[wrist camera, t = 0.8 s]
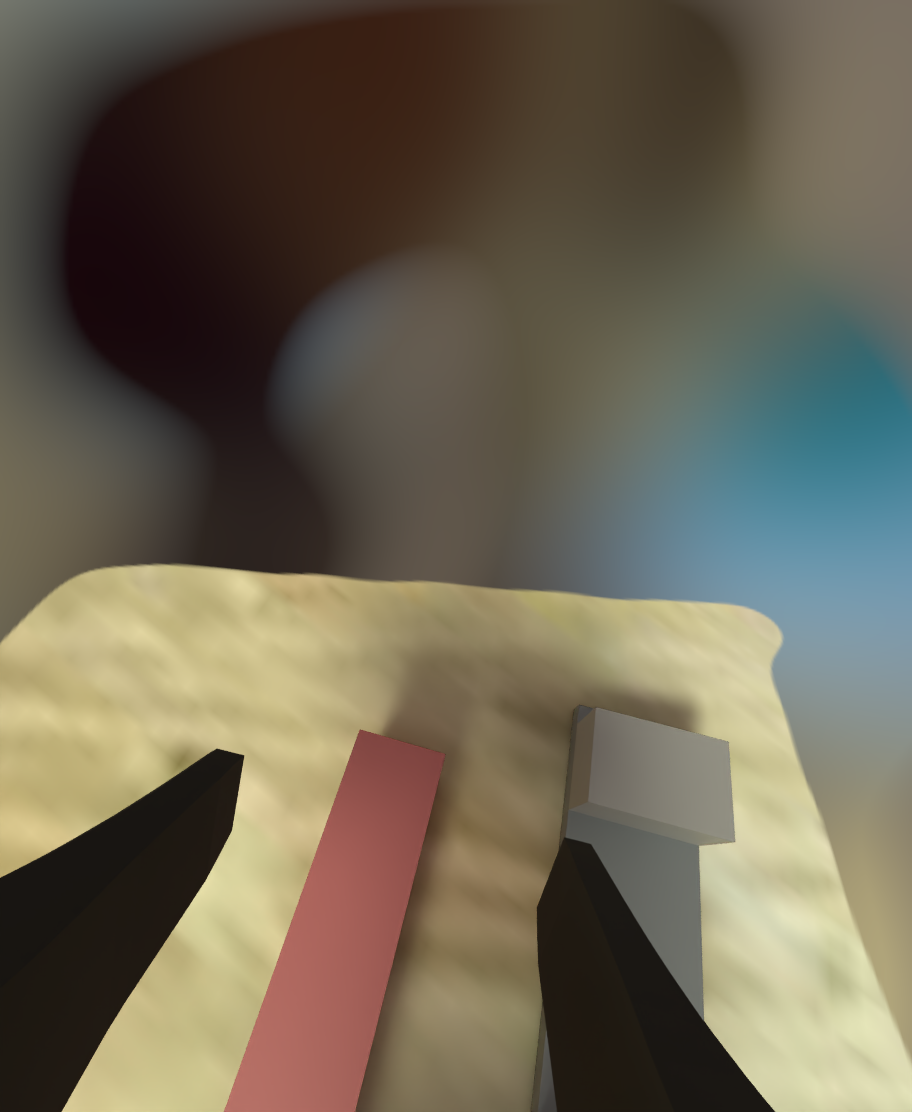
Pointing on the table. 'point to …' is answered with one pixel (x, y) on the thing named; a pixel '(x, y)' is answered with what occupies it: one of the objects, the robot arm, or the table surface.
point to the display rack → (646, 834)
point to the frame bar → (342, 937)
